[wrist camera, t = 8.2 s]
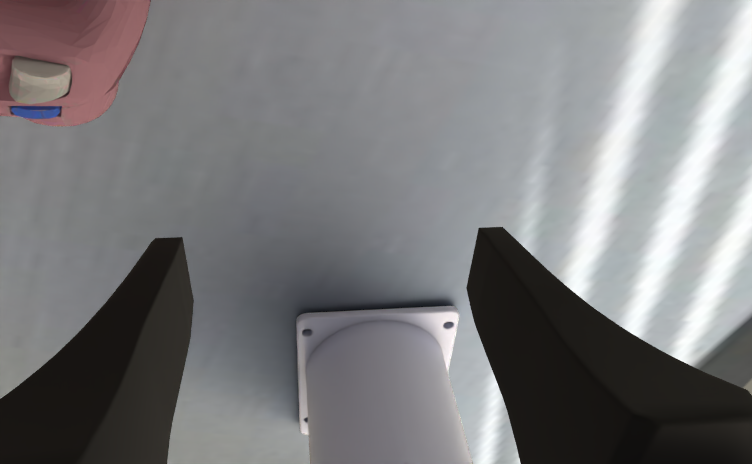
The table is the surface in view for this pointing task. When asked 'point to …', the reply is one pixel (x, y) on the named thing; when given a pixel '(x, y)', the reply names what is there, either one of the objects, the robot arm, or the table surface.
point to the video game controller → (65, 56)
